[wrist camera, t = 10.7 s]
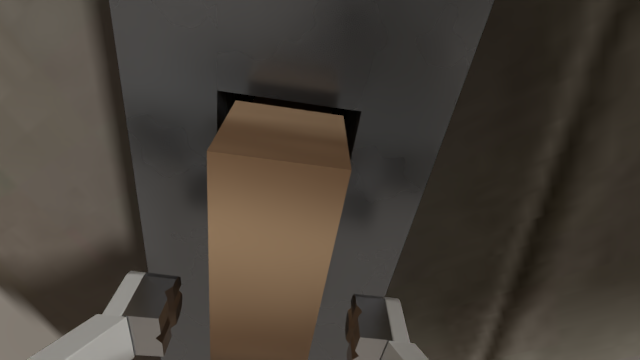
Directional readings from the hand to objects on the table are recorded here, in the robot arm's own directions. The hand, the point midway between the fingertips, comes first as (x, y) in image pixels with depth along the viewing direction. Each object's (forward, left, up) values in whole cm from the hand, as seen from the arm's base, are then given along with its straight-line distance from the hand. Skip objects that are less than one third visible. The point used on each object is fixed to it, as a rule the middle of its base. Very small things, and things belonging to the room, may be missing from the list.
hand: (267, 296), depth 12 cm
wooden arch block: (0, 0, -6) cm, 6 cm away
